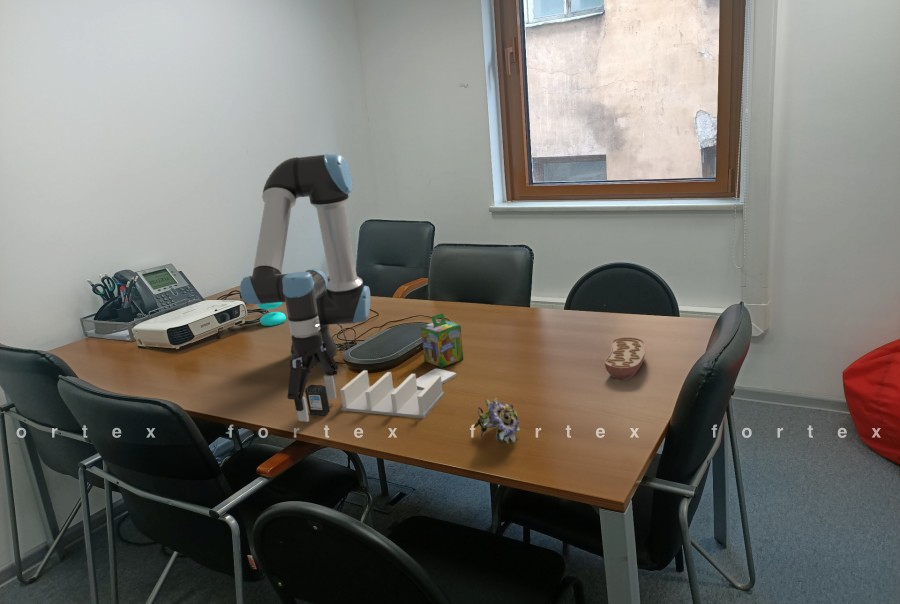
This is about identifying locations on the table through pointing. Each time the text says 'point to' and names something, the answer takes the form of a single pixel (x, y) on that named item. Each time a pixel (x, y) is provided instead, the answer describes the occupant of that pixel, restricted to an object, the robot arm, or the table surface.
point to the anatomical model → (625, 357)
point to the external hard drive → (429, 376)
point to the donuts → (272, 315)
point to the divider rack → (391, 396)
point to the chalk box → (442, 342)
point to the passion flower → (499, 420)
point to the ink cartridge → (317, 400)
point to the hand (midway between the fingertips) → (318, 408)
